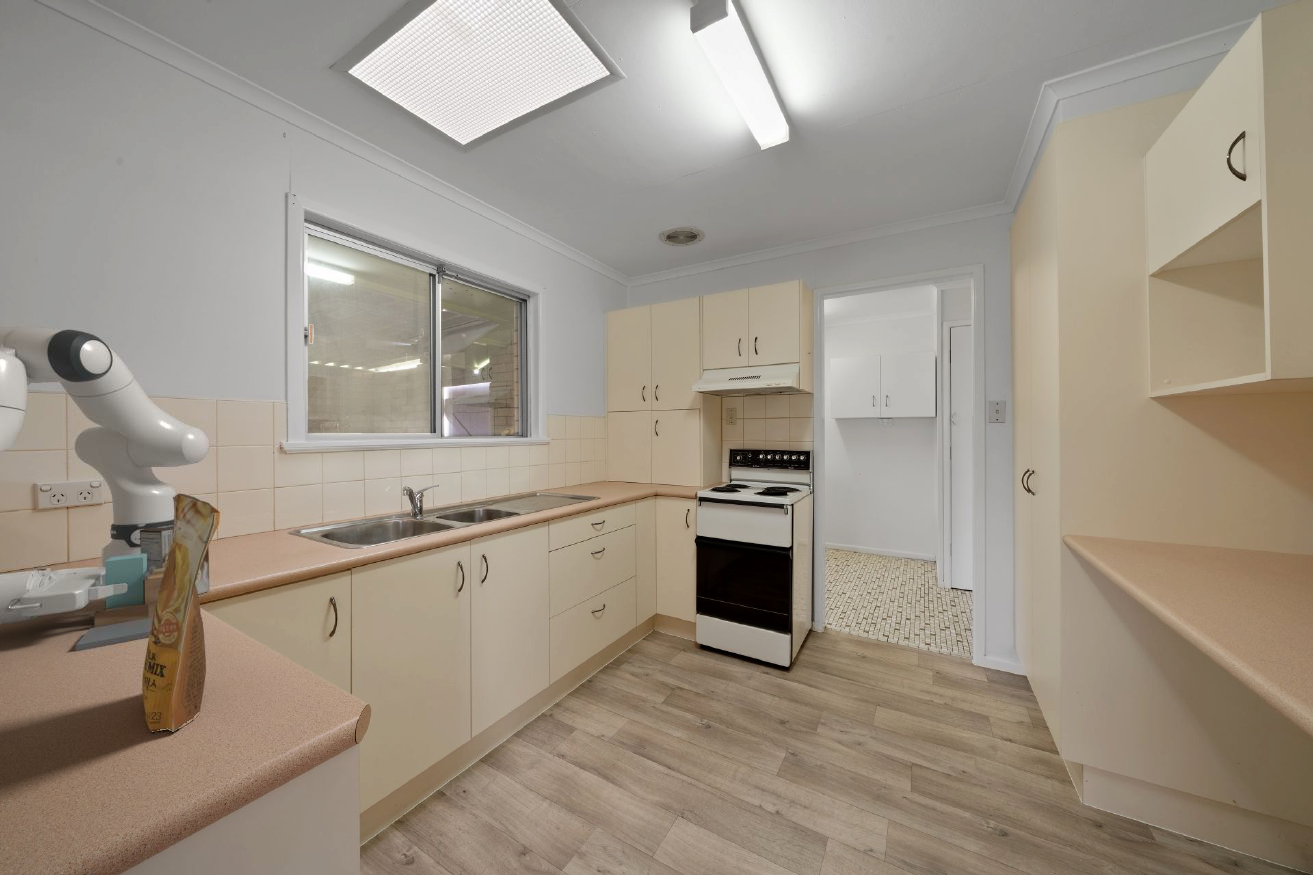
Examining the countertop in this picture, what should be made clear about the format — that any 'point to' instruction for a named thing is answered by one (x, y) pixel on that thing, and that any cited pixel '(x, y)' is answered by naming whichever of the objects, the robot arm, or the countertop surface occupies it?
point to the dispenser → (135, 611)
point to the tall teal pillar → (126, 579)
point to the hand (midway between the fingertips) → (132, 581)
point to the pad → (115, 634)
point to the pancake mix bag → (179, 622)
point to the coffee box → (158, 548)
